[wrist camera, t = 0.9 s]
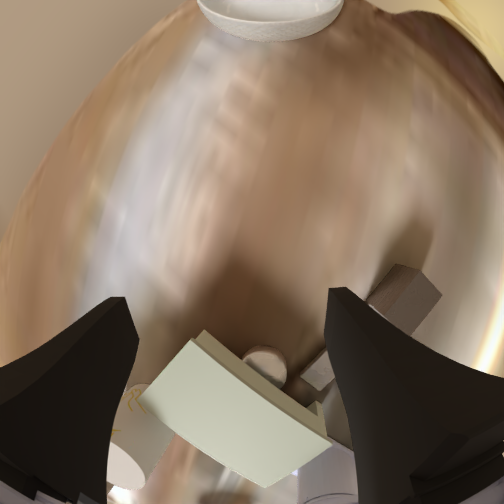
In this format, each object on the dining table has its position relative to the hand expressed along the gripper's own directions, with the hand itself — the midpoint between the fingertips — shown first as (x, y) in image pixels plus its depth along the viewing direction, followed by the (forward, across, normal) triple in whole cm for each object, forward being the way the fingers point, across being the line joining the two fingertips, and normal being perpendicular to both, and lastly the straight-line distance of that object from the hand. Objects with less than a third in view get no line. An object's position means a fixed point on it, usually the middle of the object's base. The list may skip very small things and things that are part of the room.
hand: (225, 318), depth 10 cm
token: (+14, -1, +18) cm, 23 cm away
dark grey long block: (+14, -12, +14) cm, 23 cm away
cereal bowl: (+30, -5, -22) cm, 37 cm away
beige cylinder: (+12, +13, +25) cm, 31 cm away
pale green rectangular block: (+13, +1, +21) cm, 24 cm away
